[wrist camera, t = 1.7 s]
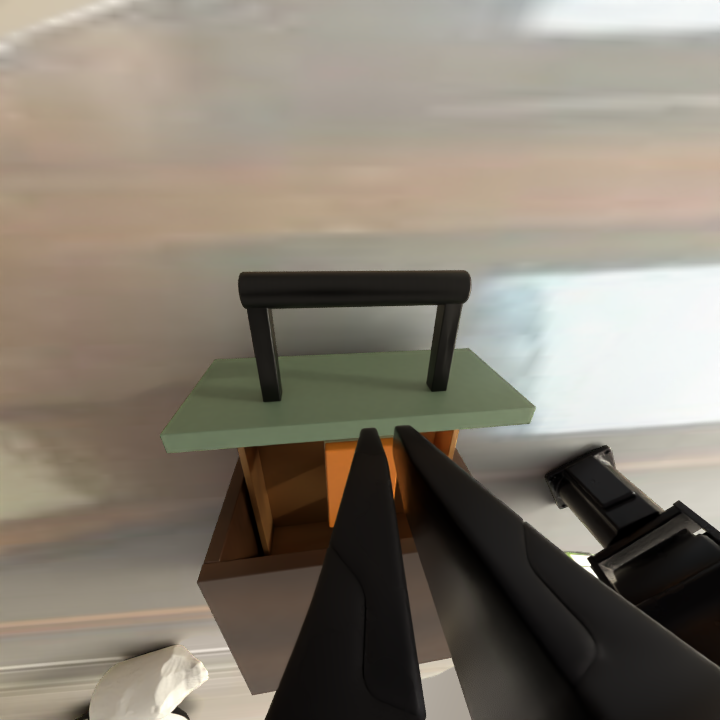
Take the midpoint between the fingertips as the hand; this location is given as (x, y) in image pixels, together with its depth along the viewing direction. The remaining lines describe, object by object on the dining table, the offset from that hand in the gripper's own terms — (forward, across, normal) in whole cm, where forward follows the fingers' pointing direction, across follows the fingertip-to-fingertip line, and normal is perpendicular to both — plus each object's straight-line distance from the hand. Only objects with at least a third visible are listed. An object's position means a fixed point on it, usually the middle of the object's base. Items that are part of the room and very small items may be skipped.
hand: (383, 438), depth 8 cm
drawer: (+10, 0, +7) cm, 12 cm away
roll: (+11, +22, +42) cm, 48 cm away
